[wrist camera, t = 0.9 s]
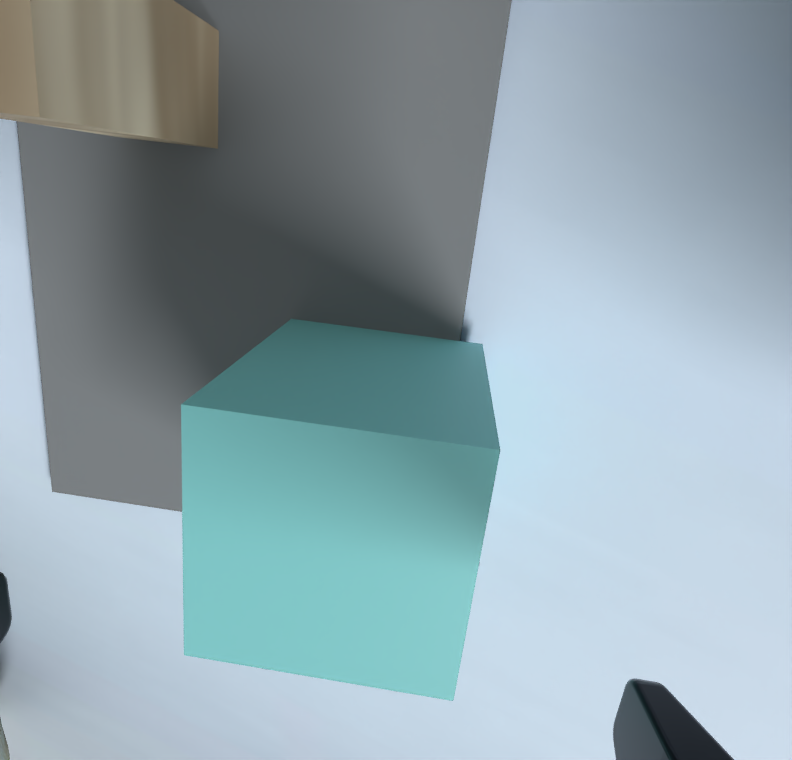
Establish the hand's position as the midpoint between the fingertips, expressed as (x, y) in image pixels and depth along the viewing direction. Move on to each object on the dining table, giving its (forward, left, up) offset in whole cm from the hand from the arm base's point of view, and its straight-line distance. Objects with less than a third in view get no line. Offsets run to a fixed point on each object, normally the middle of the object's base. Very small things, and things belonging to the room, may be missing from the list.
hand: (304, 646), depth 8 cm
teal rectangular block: (0, 0, -9) cm, 9 cm away
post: (+6, -8, -9) cm, 13 cm away
